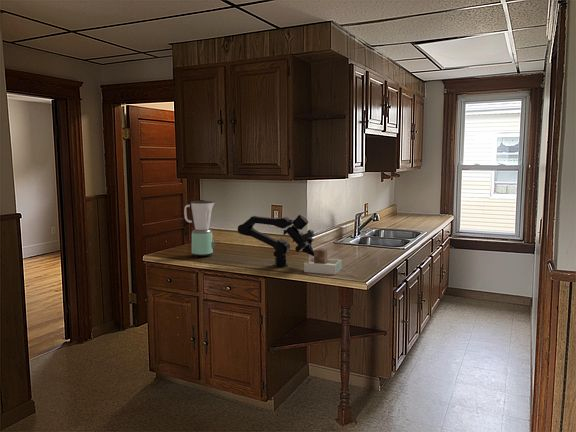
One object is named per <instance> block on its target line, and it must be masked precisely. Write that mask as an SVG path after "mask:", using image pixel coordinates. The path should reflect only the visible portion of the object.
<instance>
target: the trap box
mask: <svg viewBox="0 0 576 432" xmlns="http://www.w3.org/2000/svg"><path fill="white" fill-rule="evenodd" d="M341 270H342V259H333V258H327V264H316V263H314V257H311V258H310V261H309V262H303V272H304V273H314V274H323V275H325V274H326V275H337V274H338V273H339V272H340V271H341Z"/></svg>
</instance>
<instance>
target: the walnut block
mask: <svg viewBox="0 0 576 432" xmlns="http://www.w3.org/2000/svg"><path fill="white" fill-rule="evenodd" d="M313 251H314V256H313V258H314V263H316V264H327V259H328V248H319V247H317V248H315V249H313Z"/></svg>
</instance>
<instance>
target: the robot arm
mask: <svg viewBox="0 0 576 432" xmlns="http://www.w3.org/2000/svg"><path fill="white" fill-rule="evenodd" d="M256 224H258V225H268V226H274V227H276V228H279V229H284V230H283V236H285V235H288V236H289V237H290V238H291V239H292V242H294V243H296V246H295V249H294V250H295V252H297V253H299V252H303V253H306V254H307V255H310V256H312V257H314V249H313V247H312V244H313V241H314V240H315V239H314V238H313V237H314V236H315V232H314V230H312V229H309V230H307V232H306V233H304V232H301V231H300V230H303V229H304V228H305V227H306V226H307V225H308V224H309V221H308V219H307V218H306V217H304V216H303V215H301V214H298V215H297V216H296V218H295V219H290V218H289V217H287V216H284V217H283V216H282V217H266V216H259V215H252V216H250V217H249V218H248V219H247V220H246V221H245V222H243V223H242V224H239V225H238V226H237V232H238V234H239V235H243V236H246V237H251V238H254V239H256V240H258V241H260V242H262V243H263V244H266V245H268V246H270V247H272V248H273V249H274V251H273V256H274V264H272V266H274V267H277V268H283V267H288V266H289V265H288V264H287V256H286V255H287V254H288V252H289V251H290V250H291V245H290V243H289V242H288V240H284V239H283V238H279V239H275V238H273V237H270V236H269V235H267V234H265V233H263V232H261V231H258V230H257V229H255V228H254V226H255V225H256Z"/></svg>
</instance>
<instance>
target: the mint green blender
mask: <svg viewBox="0 0 576 432" xmlns="http://www.w3.org/2000/svg"><path fill="white" fill-rule="evenodd" d="M215 203H216V201H211V200H205V199H199V200H194V201H193V200H192V201H190V203H189V204H186V205H185V206H184V208H183V209H184V211H183V214H184V220H185V221H186V222H187V223H190V224H193V228H194V229H193V230H192V231H191V255H192V256H194V258H198V257H207V258H210V257H211V255H213V254H214V248H215V247H216V240H214V238H213V237H214V236H213V231H212V229H211V228H210V225H211V217H212V211H213V208H214V205H215ZM187 208H190V213H191V219H188V212H187Z"/></svg>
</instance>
